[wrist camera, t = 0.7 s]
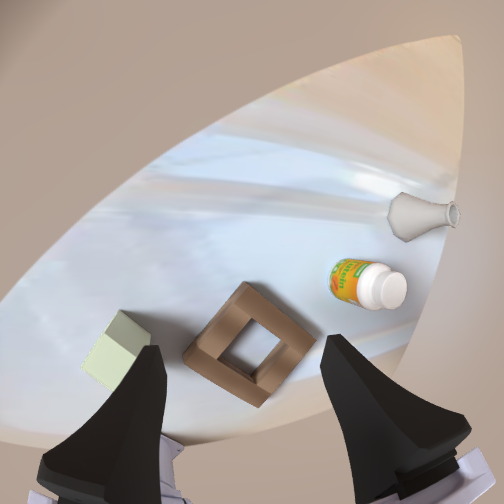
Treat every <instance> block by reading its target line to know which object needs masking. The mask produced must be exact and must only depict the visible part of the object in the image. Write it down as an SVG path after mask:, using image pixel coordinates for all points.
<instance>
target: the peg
mask: <svg viewBox="0 0 504 504" xmlns="http://www.w3.org/2000/svg"><path fill="white" fill-rule="evenodd" d="M150 339H151V334H150V333H148V332H147V331H146V330H144V329H143V328H142V327H141V326H139V325H138V324H137V323H135V322H134V321H133V320H132V319H130V318H129V317H128V316H127V315H125V314H124V313H123V312H122V311H120V310H119V311H118V312H117V313H116V315H115V316H114V317H113V319H112V320H111V321H110V323H109V324H108V326H107V327H106V328H105V330H104V331H103V333H102V334H101V335H100V337H99V338H98V340H97V341H96V343H95V345H94V346H93V348H92V349H91V351H90V353H89V354H88V356H87V357H86V359H85V361H84V362H83V364H82V366H81V367H80V368H81V369H82V370H83V371H85V372H86V373H87V374H89V375H90V376H91V377H93V378H94V379H95V380H97V381H98V382H99V383H101V384H102V385H104V386H105V387H106V388H108V389H109V390H111V391H112V392H113V391H114V390H115V389H116V387H117V386H118V385H119V383H120V382H121V381H122V379H123V378H124V376H125V375H126V373H127V372H128V370H129V369H130V367H131V366H132V364H133V362H134V361H135V359H136V358H137V356H138V354H139V353H140V351H141V349H142V348H143V346H145V345H150Z"/></svg>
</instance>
